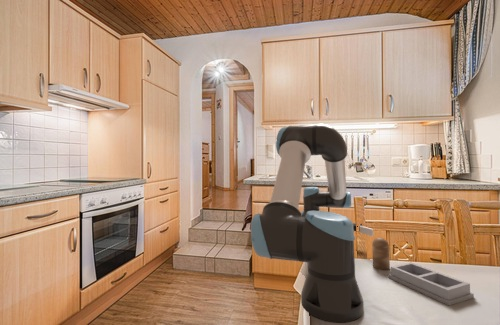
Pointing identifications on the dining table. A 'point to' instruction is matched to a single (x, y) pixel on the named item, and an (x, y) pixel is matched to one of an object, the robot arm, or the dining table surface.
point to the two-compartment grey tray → (431, 283)
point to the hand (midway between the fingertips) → (359, 235)
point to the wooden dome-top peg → (380, 254)
